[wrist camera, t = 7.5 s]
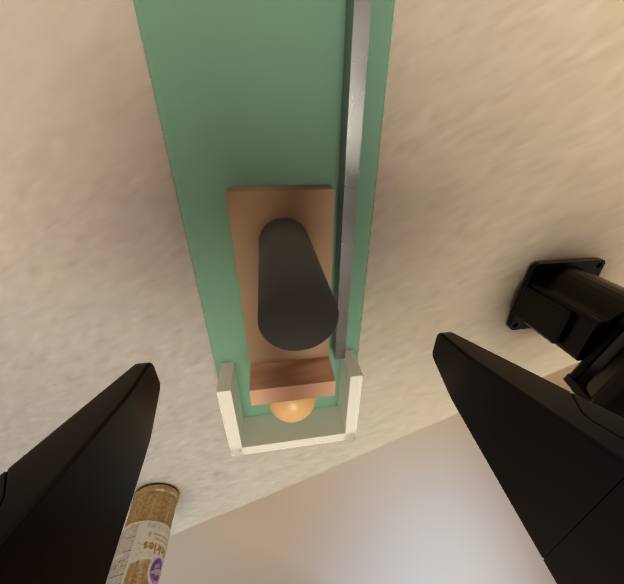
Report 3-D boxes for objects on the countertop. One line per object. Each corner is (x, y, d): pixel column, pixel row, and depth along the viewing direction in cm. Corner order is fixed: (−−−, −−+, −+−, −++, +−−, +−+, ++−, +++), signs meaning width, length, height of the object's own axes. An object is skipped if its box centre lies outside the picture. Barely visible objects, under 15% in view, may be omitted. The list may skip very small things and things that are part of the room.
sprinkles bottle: (188, 493, 33) (149, 695, 21) (155, 509, 33) (100, 713, 22) (158, 476, 30) (96, 693, 19) (123, 494, 31) (43, 713, 20)
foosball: (316, 420, 25) (311, 374, 27) (322, 417, 22) (315, 363, 23) (270, 427, 25) (267, 378, 27) (267, 424, 21) (264, 368, 23)
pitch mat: (397, -41, 14) (399, -44, 13) (351, 411, 30) (351, 413, 30) (120, -62, 12) (118, -65, 12) (229, 427, 28) (229, 429, 28)
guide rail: (366, -62, 13) (378, -82, 12) (340, 346, 25) (344, 358, 24) (349, -64, 13) (358, -84, 12) (331, 347, 25) (335, 359, 23)
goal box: (352, 349, 25) (363, 375, 23) (347, 410, 29) (355, 438, 27) (221, 363, 24) (216, 392, 21) (234, 425, 28) (231, 456, 25)
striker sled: (329, 184, 18) (387, 237, 10) (324, 357, 25) (355, 472, 17) (228, 187, 17) (198, 247, 9) (252, 365, 24) (248, 489, 16)
